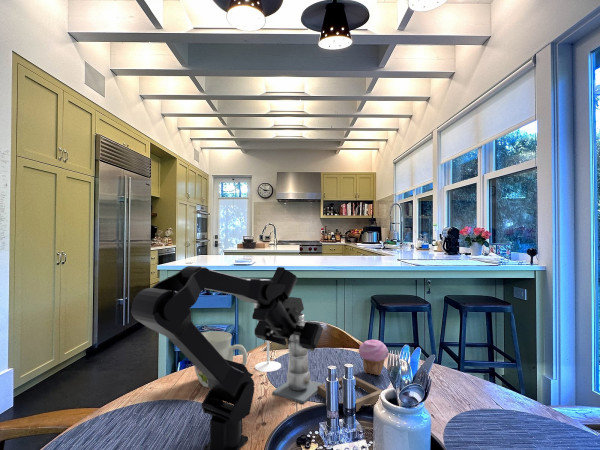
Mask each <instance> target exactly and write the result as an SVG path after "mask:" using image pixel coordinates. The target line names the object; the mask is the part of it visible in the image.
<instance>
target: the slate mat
mask: <svg viewBox="0 0 600 450" xmlns="http://www.w3.org/2000/svg"><path fill="white" fill-rule="evenodd" d="M322 384H323V382H322V383H321V382H319V381H313V380H311V379H310V384H309V386H308V387H307V388H306V389H304V390H299V391H297V390H293V389H291V388H290V387H289V386H288V382H287V381H286V382H284V383H283V384H281V385H280V386H278V387H277V388H276V389H274V390H273V391H272V395H275V396H277V397H281V398H284V399H288V400H290V401H295V402H298V403H301V404H306V403H307V402H308V401H309V400H310V399H311V398H313V397H314V396H315V395H316V394H318V388H317V386H319V385H322Z"/></svg>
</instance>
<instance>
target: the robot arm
mask: <svg viewBox="0 0 600 450" xmlns="http://www.w3.org/2000/svg"><path fill="white" fill-rule="evenodd" d="M297 277H298V276H297V275H296V274H294V273H292V272H291V271H289V270H288V269H286V268H285V267H283V266H282V267H281V266H277V268H276V269H275V271H274V274H273V276H272V278H271V279H269V278H255V277H240V276H237V275H232V274H228V273H225V272H220V271H217V270H212V269H209V268H207V267H205V266H200V265H199V266H198V265H195V266H194V265H187V266H185V267H184V268H182V269H181V270H179V271H178V272H176V273H175V274H173V275H171V276H169V277H166V278H164V279H162V280H160V281H159V282H156V283H155V284H154V285H152V286H151V287H147V288H144V289H142V290H140V291H139V292H138V293H137V294H136V295H135V296H134V298H133V301H132V303H131V308H130V313H131V315H132V317H133V319H134V320H135V321H138V322H139V323H141V324H142V325H144V326H145V327H147V328H149V329H150V330H153V331H155V332H156V333H159V334H161V335H162V336H164V337H166V338H167V339H168V340H169V341H170V342H171V343H172V344H173V345H174V346H175V347H176V348H177V349H178V350H179V351H180V352H181V353H182V354H183V355H184V356H185V357H186V358H187V359H188V360H189V361H190V362H191V363H192V365H193V366H194V365H195V366H196V367H197V368H198V369H199V370H200V371H201V372H202V373H203V374H204V375H205V376H206V377H207V379H208V387H207V388H209V390H208V392H207V394H206V395H205V397H204V399H203V400H202V403H201V405H200V406H201V409H202V411H203V413H204V414H208V415H210V416H211V418H210V424H209V427H210V428H209V432H210V433H209V442H208V443H207V444H206V445H204V446H203V450H240V449H241V448H242V447H243V446H244V445H245V444H246V443H247V442H248V441H249V436H247V435H244V434H243V420H244V419H246V418H247V417H248V416H249V415H250V413H251V408H252V404H253V399H254V395H255V381H254V379H253V378H252V377H253V376H254V374H253V373H250V371H249V370H248V368H247V366H245V365H244V364H242V362H237V361H234V360H233V361H230V360H226V359H224V358H223V357H222V356H221V355H220V354H219V352H218V351H217V350H216V349H215V348H214V347H213V346H212V344H211V343H210V342H209V341H208V340H207V339H206V338H205V336H204V335H203V334H202V333H201V331H200V329H198V327H197V326H196V324H194V323H193V321H192V311H191V308H192V307H193V306H194V305H195V304H196V302H197V301H198V299H199V297H200V295H201V292H202V291H203V290H207V291H213V292H216V293H217V292H219V293H222V294H228V295H232V296H235V297H236V298H237V299H238V300H240V301H242V302H244V303H249V304H254V303H256V304H257V306H256V308H254V307H253V313H252V315H251V316H252V317H251V318H252V319H253V320H256V321H258V320H259V321H258V322H257V324H256V326H255V327H254V330H253V331H254V335H255V337H256V338H257V339H261V340H263V341H266V342H267V341H269V343H270V342H271V343H274V344H277V345H281V346H284V347H285V346H286V345H287V344H288V341H287V339H289V338H290V336H291V335H292V334H294V335H300V337H299V343H300V345H301V346H302V348H305V349H307V350H308V351H309V352H312V353H313V352H315V350H316V348H317V346H318V344H319V343H320V338H321V336H322V333H323V330H324V328H323V327H322V325H321V323H320V322H315V321H310V320H309V321H306V322H305V321H304V322H305V323H304V324H305V325H304V326H300V325H296V323H298V321H299V318H298V315H299V314H300V313H303V312H304V310H305V308H304V303H303V301H302V300H303V299H302V298H301V297H294V296H291V294H292V291H293V289H294V287H295V285H296V284H297V281H298V278H297ZM195 366H194V367H195Z"/></svg>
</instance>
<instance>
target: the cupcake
mask: <svg viewBox="0 0 600 450" xmlns="http://www.w3.org/2000/svg"><path fill="white" fill-rule="evenodd" d="M358 354H359V356H360V358H362V365H363V372H364V373H365V372H366V373H365V374H367V373H370V374H369V375H371V374H374V375H373V376H375V375H380V374H382V370H383V368H384V364H385V360H386V359H387V358H388V357H389V350H388V348H387V346H386V344H384V342H382V341H381V340H379V339H368V340H365V341H363V342H362V343H361V344H360V345H359V349H358ZM380 376H381V375H380Z"/></svg>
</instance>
